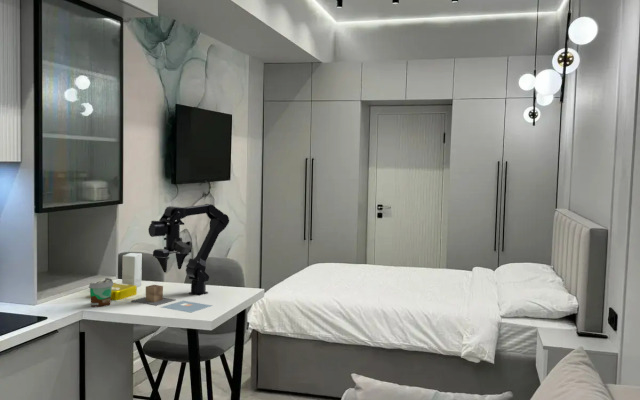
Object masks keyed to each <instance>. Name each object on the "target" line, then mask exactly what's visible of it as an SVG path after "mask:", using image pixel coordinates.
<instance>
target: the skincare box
mask: <svg viewBox="0 0 640 400" xmlns="http://www.w3.org/2000/svg"><path fill="white" fill-rule="evenodd" d="M142 258H143V254H142V253H140V252H139V253H138V252H129V253H126V254H123V255H122V261H121V263H122V270H121V272H122V274H121V275H122V277H121V284H129V285H136V286H137V288H138V287H140V286H142V274H143V273H142V272H143V271H142V269H143V268H142V266H143V264H142V263H143V262H142V261H143V260H142Z"/></svg>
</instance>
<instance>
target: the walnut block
mask: <svg viewBox="0 0 640 400" xmlns="http://www.w3.org/2000/svg"><path fill="white" fill-rule="evenodd" d="M145 297H146V301H151V302H157V301H160V300H163V298H164V285H159V284H151V285H147V286H145Z"/></svg>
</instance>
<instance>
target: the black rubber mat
mask: <svg viewBox="0 0 640 400" xmlns="http://www.w3.org/2000/svg"><path fill="white" fill-rule="evenodd" d="M175 301H176V298H175V299H174V298H169V297H168V298H167V297H163V300H160V301H157V302H151V301H146V296H145V297H140V298H137V299H133V300H131V303H139V304H143V305H144V304H145V305H149V306H155V307H156V306H161V305H164V304H168V303H171V302H175Z"/></svg>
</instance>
